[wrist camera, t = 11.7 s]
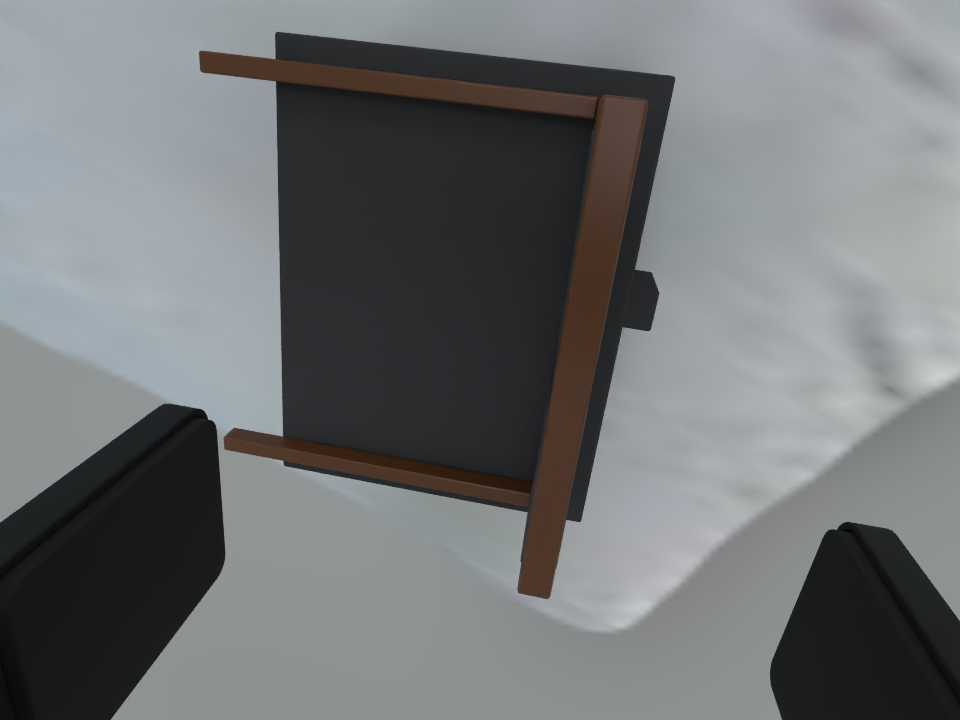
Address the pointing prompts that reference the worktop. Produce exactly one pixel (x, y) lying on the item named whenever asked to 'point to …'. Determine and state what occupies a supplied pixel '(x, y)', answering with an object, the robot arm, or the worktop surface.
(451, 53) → the wood-trimmed dark box
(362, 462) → the brown angular bar frame
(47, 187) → the worktop surface
